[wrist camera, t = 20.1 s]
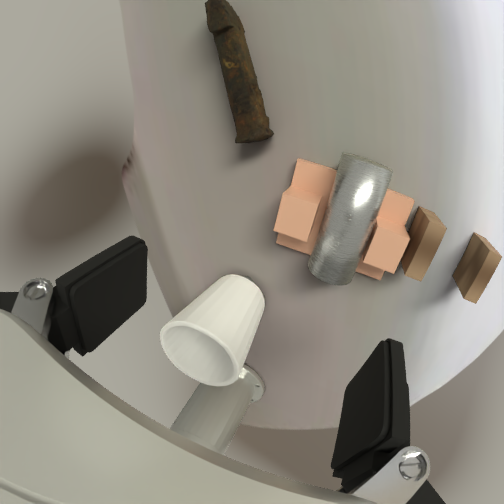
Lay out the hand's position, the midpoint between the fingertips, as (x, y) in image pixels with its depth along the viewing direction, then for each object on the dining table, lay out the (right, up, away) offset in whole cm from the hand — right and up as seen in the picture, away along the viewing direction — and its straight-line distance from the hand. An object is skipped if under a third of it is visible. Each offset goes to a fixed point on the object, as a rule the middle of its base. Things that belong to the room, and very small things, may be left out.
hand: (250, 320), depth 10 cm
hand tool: (-1, +23, +16) cm, 29 cm away
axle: (+10, +7, +18) cm, 22 cm away
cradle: (+10, +6, +20) cm, 23 cm away
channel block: (+22, +3, +16) cm, 27 cm away
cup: (-1, -3, +29) cm, 30 cm away
